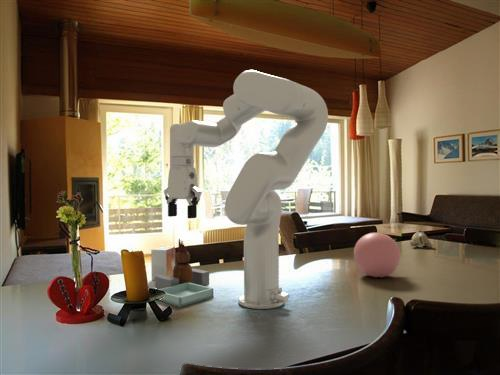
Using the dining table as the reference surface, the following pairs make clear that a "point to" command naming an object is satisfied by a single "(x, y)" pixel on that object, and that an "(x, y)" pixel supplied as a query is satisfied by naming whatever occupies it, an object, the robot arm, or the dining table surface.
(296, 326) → the dining table surface
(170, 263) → the small box
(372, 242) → the pink rubber ball
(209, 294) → the tray
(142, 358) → the dining table surface
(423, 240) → the ceramic sculpture
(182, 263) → the wooden figurine
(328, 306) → the dining table surface
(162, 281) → the grey blocks
